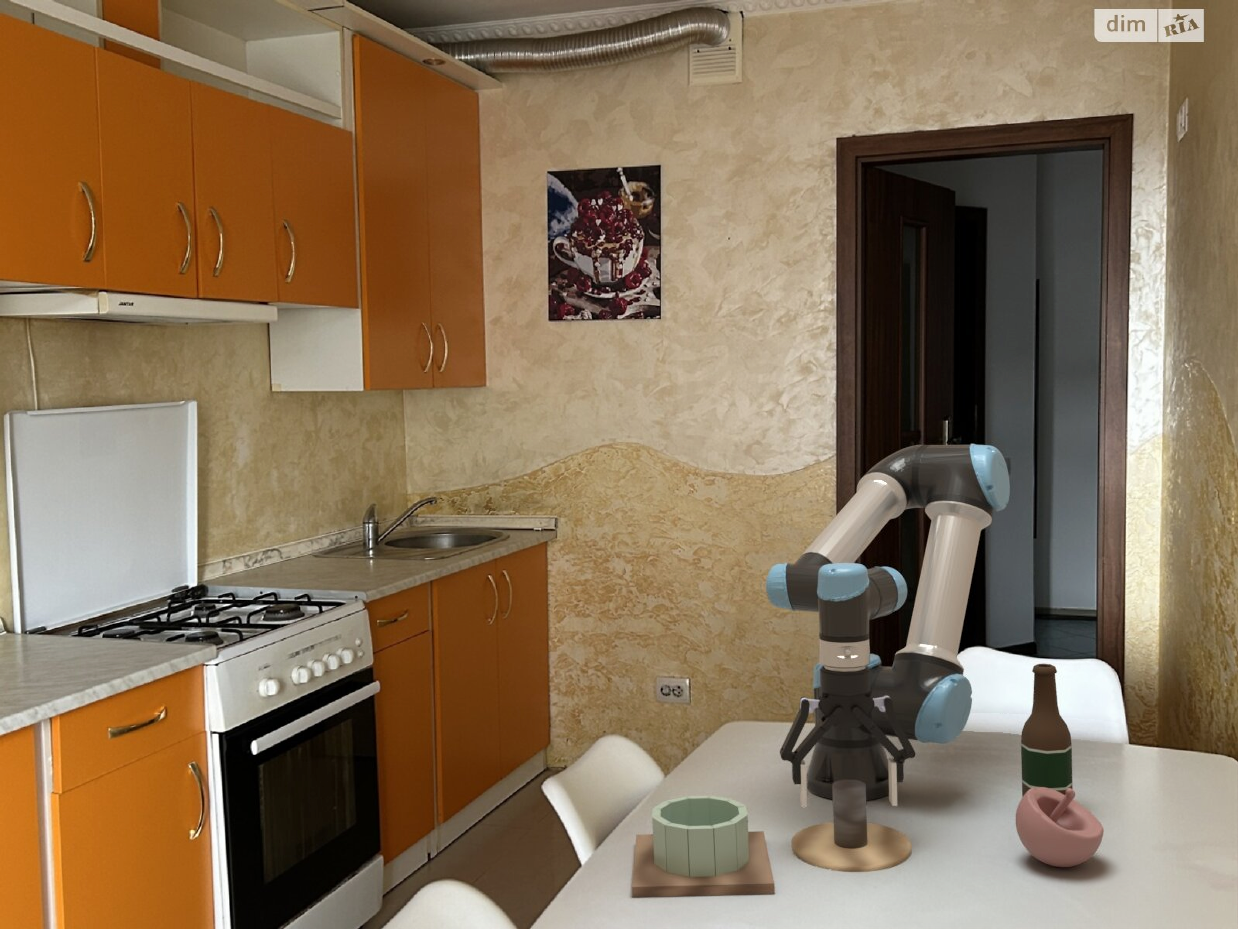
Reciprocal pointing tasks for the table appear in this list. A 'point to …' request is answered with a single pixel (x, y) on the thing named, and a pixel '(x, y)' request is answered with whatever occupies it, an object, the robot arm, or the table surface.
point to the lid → (851, 836)
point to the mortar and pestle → (1057, 827)
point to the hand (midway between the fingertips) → (848, 804)
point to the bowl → (700, 836)
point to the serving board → (740, 882)
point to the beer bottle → (1046, 738)
